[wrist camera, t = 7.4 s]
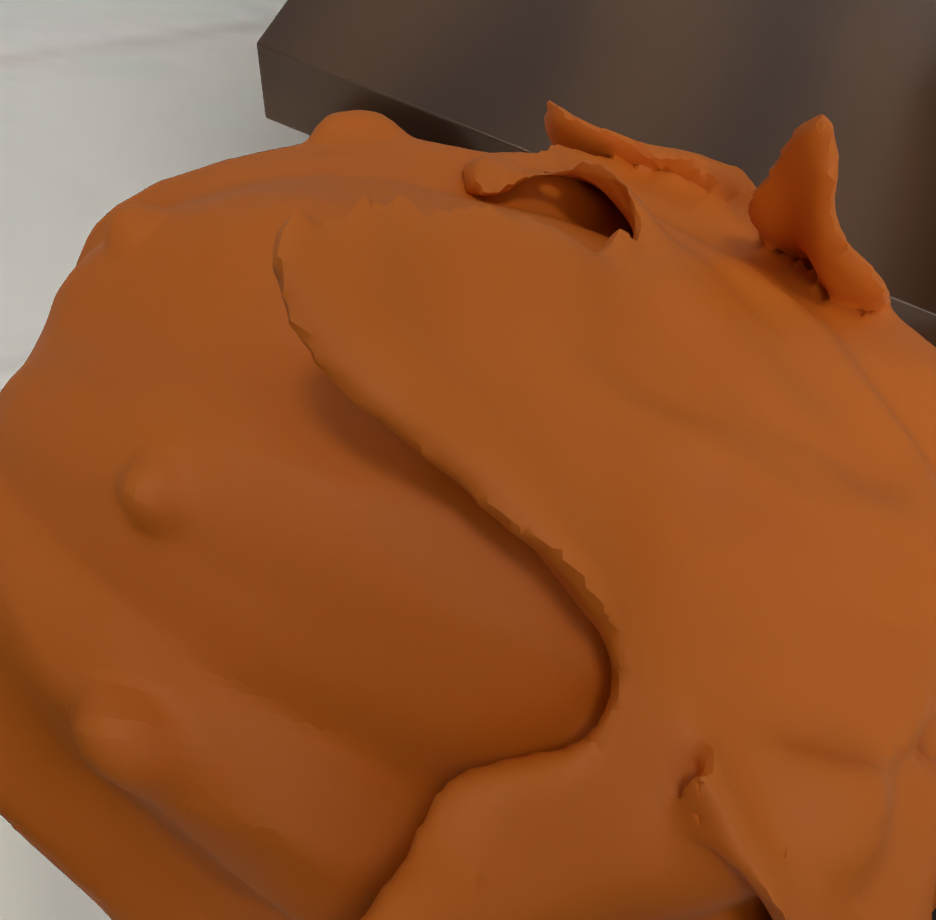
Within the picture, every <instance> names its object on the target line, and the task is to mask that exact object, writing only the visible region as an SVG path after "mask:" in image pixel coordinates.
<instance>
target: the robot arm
mask: <svg viewBox="0 0 936 920" xmlns="http://www.w3.org/2000/svg"><path fill="white" fill-rule="evenodd" d="M932 920H936V908H935V910H934V911H933V912H932Z"/></svg>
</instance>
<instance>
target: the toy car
mask: <svg viewBox="0 0 936 920" xmlns="http://www.w3.org/2000/svg"><path fill="white" fill-rule="evenodd" d="M257 49H258V57H259V66H260V74H261V82H262V90H263V98H264V106H265V114H266V117H267V118H268V119H271V120H273V121H276V122H278V123H281V124H283V125H286V126H288V127H291V128H293V129H296V130H298V131H301V132H303V133H306V134H308V135H311V134H312V132H313V131H314V129H315V128H316V126H317V125H318V124H319V123H320V122H321V121H322V120H323V119H324V118H325V117H326V116H328V115H330V114H333V113H336V112H343V111H351V110H366V111H373V112H377V113H380V114H383V115H384V116H386V117H387V118H389V119H390V120H392V121H394V122H395V123H396V124H397V125H398V126H399V127H400V128H402V129H403V130H404V131H405V132H406V133H407V134H409V135H411V136H412V137H415V138H417V139H421V140H425V141H430V142H435V143H440V144H445V145H450V146H456V147H462V148H466V149H470V150H476V151H482V152H488V153H498V152H525V153H539V152H540V151H547V150H548V149H549V147H550V146H551V145H553V144H552V143H551V141H550V140H549V137H548V135H547V132H546V129H545V121H544V116H545V114H546V112H547V110H548V109H547V102H548V101H549V100H550V101H552V102H553V103H555V104H556V105H558V106H560V107H562V108H564V109H565V110H566V111H568V112H569V113H571V114H572V115H574V116H576V117H578V118H580V119H582V120H584V121H586V122H588V123H590V124H592V125H594V126H597V127H599V128H604V129H608V130H611V131H613V132H616V133H618V134H621V135H623V136H626V137H628V138H631V139H633V140H636V141H639V142H643V143H647V144H651V145H657V146H663V147H669V148H676V149H681V150H685V151H689V152H693V153H697V154H701V155H703V156H706V157H708V158H711V159H713V160H716V161H719V162H722V163H725V164H727V165H732V166H736V167H738V168H740V169H741V170H742V171H744V172H745V174H746V175H747V177H748V178H749V179H750V180H751V181H752V182H753V183H754V185H755V187H756V188H757V187H758V186H759V185H760V184H761V183H762V182H763V181H764V180H765V179H766V178H767V177H768V176H769V169H770V168H771V167H772V166H773V165H774V164H775V163H776V161H777V160H778V159H779V157H780V152H781V149H782V148H783V147H784V146H785V145H786V143H787V142H788V141H789V140H790V139H791V138H792V135H793V132H794V130H795V129H796V128H797V127H799V126H800V125H801V124H803V123H804V122H807V121H809V120H810V119H812V118H814V117H816V116H818V115H821V114H823V115H824V116H826V117H827V118H828V119H829V120H830V121H831V123H832V125H833V127H834V136H835V141H836V145H837V150H838V154H839V161H838V180H837V186H836V193H835V208H836V215H837V218H838V221H839V224H840V227H841V229H842V231H843V233H844V234H845V236H846V240H847V242H848V243H849V244H850V245H851V247H852V248H853V249H854V250H855V251H857V252H858V253H859V254H860V255H861V256H862V257H863V258H864V259H865V260H866V261H867V262H868V263H870V264H871V265H872V266H873V269H874V270H875V271H876V272H877V273H878V275H879V276H880V277H881V278H882V279H883V281H884V282H885V284H886V286H887V289H888V291H889V292H890V296H889V297H890V299H891V303H890V305H891V307H892V309H893V310H894V312H895V313H896V314H897V315H898V316H899V317H900V319H901V320H902V321H904V322H905V323H906V324H907V325H909V326H910V327H911V328H913V329H914V330H915V331H916V332H918V333H919V334H920V335H921V336H922V337H923V338H925V339H926V340H927V341H928V342H930V343H931V344H932V345H933V346H935V347H936V0H288V1H287V2H286V3H285V5H284V6H283V8H282V9H281V10H280V12H279V13H278V14H277V16H276V17H275V19H274V20H273V21H272V23H271V24H270V26H269V27H268V28H267V30H266V31H265V32H264V34H263V35H262V37H261V38H260V39H259V41H258V42H257Z"/></svg>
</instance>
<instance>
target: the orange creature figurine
mask: <svg viewBox="0 0 936 920" xmlns="http://www.w3.org/2000/svg"><path fill="white" fill-rule="evenodd" d="M547 109H548V110H547V112H546V114H545V116H544V121H545V129H546V132H547V135H548V137H549V140H550V141H551V143H552V144H553V145H551V146H550V147H549V149H548V150H547V151H540V152H539V153H525V152H498V153H488V152H482V151H476V150H470V149H466V148H462V147H456V146H450V145H445V144H440V143H435V142H430V141H425V140H421V139H417V138H415V137H412V136H411V135H409V134H407V133H406V132H405V131H404V130H403V129H402V128H400V127H399V126H398V125H397V124H396V123H395V122H394V121H392V120H390V119H389V118H387V117H386V116H384V115H383V114H380V113H377V112H373V111H366V110H351V111H343V112H336V113H333V114H330V115H328V116H326V117H325V118H324V119H323V120H322V121H321V122H320V123H319V124H318V125H317V126H316V128H315V129H314V131H313V132H312V134H311V136H310V137H309V138H308V140H306V141H305V142H304V143H302V144H298V145H294V146H290V147H283V148H278V149H272V150H268V151H263V152H258V153H254V154H250V155H246V156H242V157H238V158H233V159H227V160H224V161H221V162H218V163H214V164H211V165H208V166H206V167H203V168H200V169H197V170H193V171H190V172H187V173H184V174H181V175H178V176H175V177H172V178H168V179H165V180H162V181H160V182H157V183H155V184H153V185H151V186H149V187H148V188H146V189H145V190H143V191H141V192H140V193H138V194H136V195H134V196H133V197H131V198H129V199H127V200H125V201H124V202H122V203H120V204H118V205H117V206H116V207H114V208H113V209H112V210H111V211H110V212H109V213H107V214H106V215H105V216H104V217H103V218H102V219H101V220H100V221H99V222H98V223H97V224H96V225H95V227H94V228H93V230H92V231H91V233H90V235H89V236H88V238H87V240H86V243H85V245H84V247H83V250H82V252H81V254H80V257H79V259H78V262H77V264H76V267H75V268H74V269H73V271H72V272H71V273H70V274H69V276H68V277H67V278H66V280H65V281H64V283H63V284H62V286H61V287H60V289H59V290H58V292H57V294H56V296H55V298H54V301H53V304H52V307H51V310H50V313H49V316H48V319H47V321H46V324H45V326H44V329H43V331H42V333H41V335H40V337H39V339H38V341H37V343H36V345H35V347H34V349H33V350H32V352H31V354H30V356H29V357H28V359H27V360H26V362H25V363H24V365H23V366H22V367H21V368H20V369H19V370H18V371H17V372H16V373H15V374H14V375H13V377H12V378H11V379H10V380H9V381H8V382H7V384H6V385H5V386H4V388H3V389H2V390H1V392H0V814H1V815H2V816H3V817H4V818H5V819H6V820H7V821H8V822H9V823H10V824H11V825H12V826H13V828H14V829H15V830H16V831H18V832H19V833H20V834H21V835H22V836H23V837H24V838H25V839H26V840H27V841H28V842H29V843H30V844H31V845H33V846H34V847H35V848H36V849H37V850H38V851H39V852H41V853H42V854H43V855H44V856H45V857H46V858H47V859H48V860H49V861H50V862H52V863H53V864H54V865H55V866H56V867H57V868H58V869H59V870H61V871H62V872H63V873H64V874H65V875H66V876H67V877H68V878H69V879H71V880H72V881H73V882H74V883H75V884H76V885H77V886H78V887H80V888H81V889H82V890H83V891H84V892H85V893H86V894H87V895H88V896H89V897H90V898H91V899H92V900H94V901H95V902H96V903H97V904H98V905H99V906H100V907H101V908H102V909H103V910H104V912H105V913H106V914H107V915H108V916H109V917H110V918H111V919H112V920H932V912H933V911H934V910H935V908H936V347H935V346H933V345H932V344H931V343H930V342H928V341H927V340H926V339H925V338H923V337H922V336H921V335H920V334H919V333H918V332H916V331H915V330H914V329H913V328H911V327H910V326H909V325H907V324H906V323H905V322H904V321H902V320H901V319H900V317H899V316H898V315H897V314H896V313H895V312H894V310H893V309H892V307H891V305H890V303H891V299H890V297H889V296H890V292H889V291H888V289H887V286H886V284H885V282H884V281H883V279H882V278H881V277H880V276H879V275H878V273H877V272H876V271H875V270H874V269H873V266H872V265H871V264H870V263H868V262H867V261H866V260H865V259H864V258H863V257H862V256H861V255H860V254H859V253H858V252H857V251H855V250H854V249H853V248H852V247H851V245H850V244H849V243H848V242H847V240H846V236H845V234H844V233H843V231H842V229H841V227H840V224H839V221H838V218H837V215H836V208H835V193H836V186H837V180H838V161H839V154H838V150H837V145H836V141H835V136H834V127H833V125H832V123H831V121H830V120H829V119H828V118H827V117H826V116H824V115H823V114H821V115H818V116H816V117H814V118H812V119H810V120H809V121H807V122H804V123H803V124H801V125H800V126H799V127H797V128H796V129H795V130H794V132H793V135H792V138H791V139H790V140H789V141H788V142H787V143H786V145H785V146H784V147H783V148H782V149H781V152H780V157H779V159H778V160H777V161H776V163H775V164H774V165H773V166H772V167H771V168H770V169H769V176H768V177H767V178H766V179H765V180H764V181H763V182H762V183H761V184H760V185H759V186H758V187H757V188H756V187H755V185H754V183H753V182H752V181H751V180H750V179H749V178H748V177H747V175H746V174H745V172H744V171H742V170H741V169H740V168H738V167H736V166H732V165H727V164H725V163H722V162H719V161H716V160H713V159H711V158H708V157H706V156H703V155H701V154H697V153H693V152H689V151H685V150H681V149H676V148H669V147H663V146H657V145H651V144H647V143H643V142H639V141H636V140H633V139H631V138H628V137H626V136H623V135H621V134H618V133H616V132H613V131H611V130H608V129H604V128H599V127H597V126H594V125H592V124H590V123H588V122H586V121H584V120H582V119H580V118H578V117H576V116H574V115H572V114H571V113H569V112H568V111H566V110H565V109H564V108H562V107H560V106H558V105H556V104H555V103H553V102H552V101H550V100H549V101H548V102H547Z"/></svg>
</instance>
